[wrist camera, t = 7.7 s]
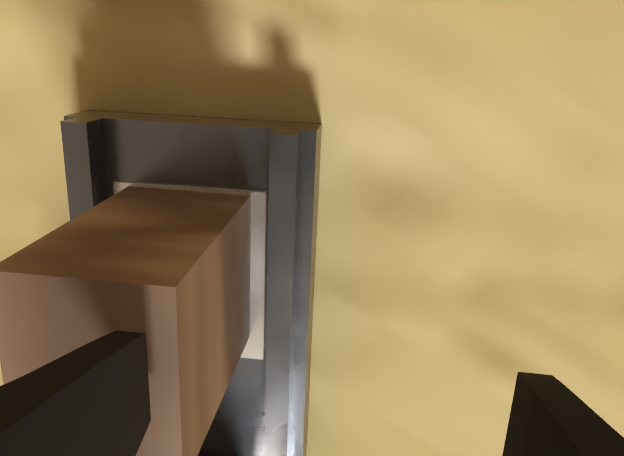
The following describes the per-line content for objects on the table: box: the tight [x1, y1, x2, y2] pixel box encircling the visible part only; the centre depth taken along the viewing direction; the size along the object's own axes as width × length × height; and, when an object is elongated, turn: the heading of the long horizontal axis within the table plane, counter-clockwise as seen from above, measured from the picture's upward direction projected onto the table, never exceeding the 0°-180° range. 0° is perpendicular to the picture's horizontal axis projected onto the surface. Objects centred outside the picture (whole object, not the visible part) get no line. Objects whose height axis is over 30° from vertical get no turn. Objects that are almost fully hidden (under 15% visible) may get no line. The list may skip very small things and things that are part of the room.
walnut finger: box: [0, 186, 251, 456], centre depth 16 cm, size 4×6×7 cm
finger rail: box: [60, 110, 322, 456], centre depth 18 cm, size 8×20×8 cm, turn 178°
